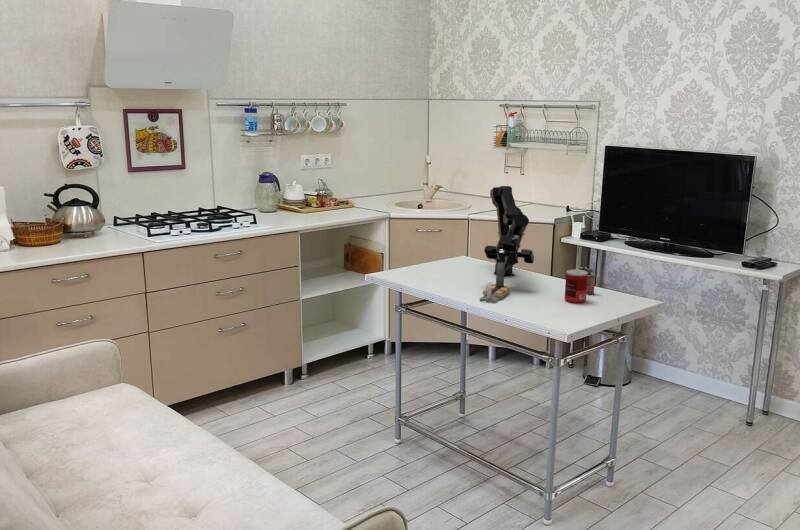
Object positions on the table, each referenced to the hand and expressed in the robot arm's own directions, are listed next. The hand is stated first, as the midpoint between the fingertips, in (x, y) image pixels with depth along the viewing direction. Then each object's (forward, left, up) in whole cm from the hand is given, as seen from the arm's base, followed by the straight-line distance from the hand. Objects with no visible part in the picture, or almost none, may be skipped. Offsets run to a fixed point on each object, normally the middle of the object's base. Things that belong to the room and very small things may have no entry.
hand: (503, 272), depth 269 cm
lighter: (-29, +12, -8) cm, 32 cm away
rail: (+6, +5, -8) cm, 11 cm away
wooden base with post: (+5, +4, -6) cm, 9 cm away
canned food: (-19, +20, -8) cm, 29 cm away
